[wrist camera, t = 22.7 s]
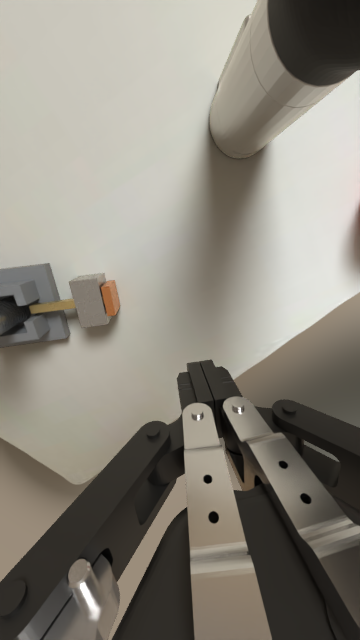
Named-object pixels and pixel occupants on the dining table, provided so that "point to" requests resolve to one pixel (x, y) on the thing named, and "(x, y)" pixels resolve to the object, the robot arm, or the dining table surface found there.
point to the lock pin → (108, 296)
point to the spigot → (12, 314)
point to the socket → (31, 289)
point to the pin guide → (89, 300)
